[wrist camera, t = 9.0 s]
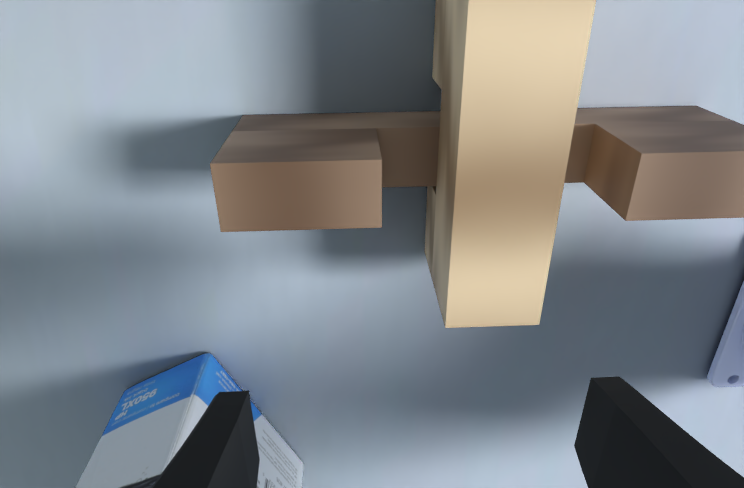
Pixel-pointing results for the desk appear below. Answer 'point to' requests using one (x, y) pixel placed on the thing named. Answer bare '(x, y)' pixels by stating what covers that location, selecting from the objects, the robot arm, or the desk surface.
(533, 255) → the oak block
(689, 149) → the walnut u-shaped block
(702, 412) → the desk surface
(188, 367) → the ink box
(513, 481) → the desk surface
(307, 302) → the desk surface
